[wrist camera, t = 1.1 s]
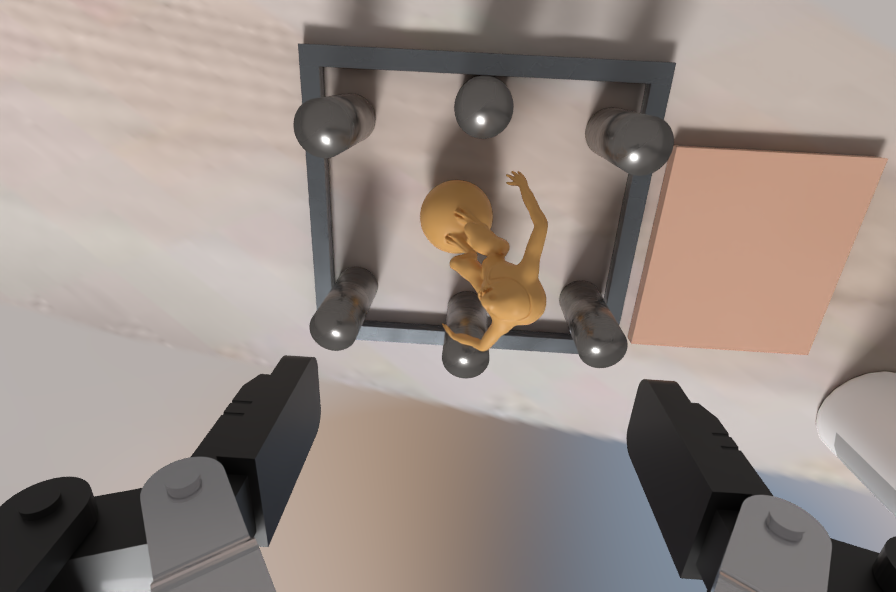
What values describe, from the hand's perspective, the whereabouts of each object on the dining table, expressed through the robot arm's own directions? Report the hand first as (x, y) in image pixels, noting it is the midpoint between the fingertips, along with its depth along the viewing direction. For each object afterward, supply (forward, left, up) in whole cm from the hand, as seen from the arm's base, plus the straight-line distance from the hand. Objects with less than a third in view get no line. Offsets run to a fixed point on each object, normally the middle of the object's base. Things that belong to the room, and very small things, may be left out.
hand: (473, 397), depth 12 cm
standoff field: (0, 0, -18) cm, 18 cm away
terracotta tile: (-16, +2, -18) cm, 24 cm away
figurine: (0, 0, -18) cm, 18 cm away
